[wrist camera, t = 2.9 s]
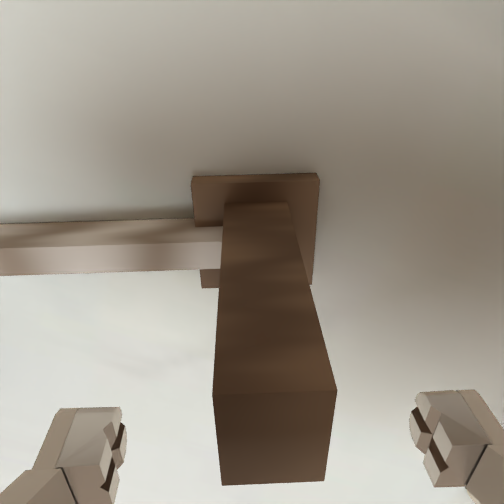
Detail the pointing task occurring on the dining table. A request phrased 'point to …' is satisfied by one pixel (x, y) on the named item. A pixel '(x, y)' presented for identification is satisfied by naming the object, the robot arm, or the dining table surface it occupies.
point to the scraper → (228, 308)
